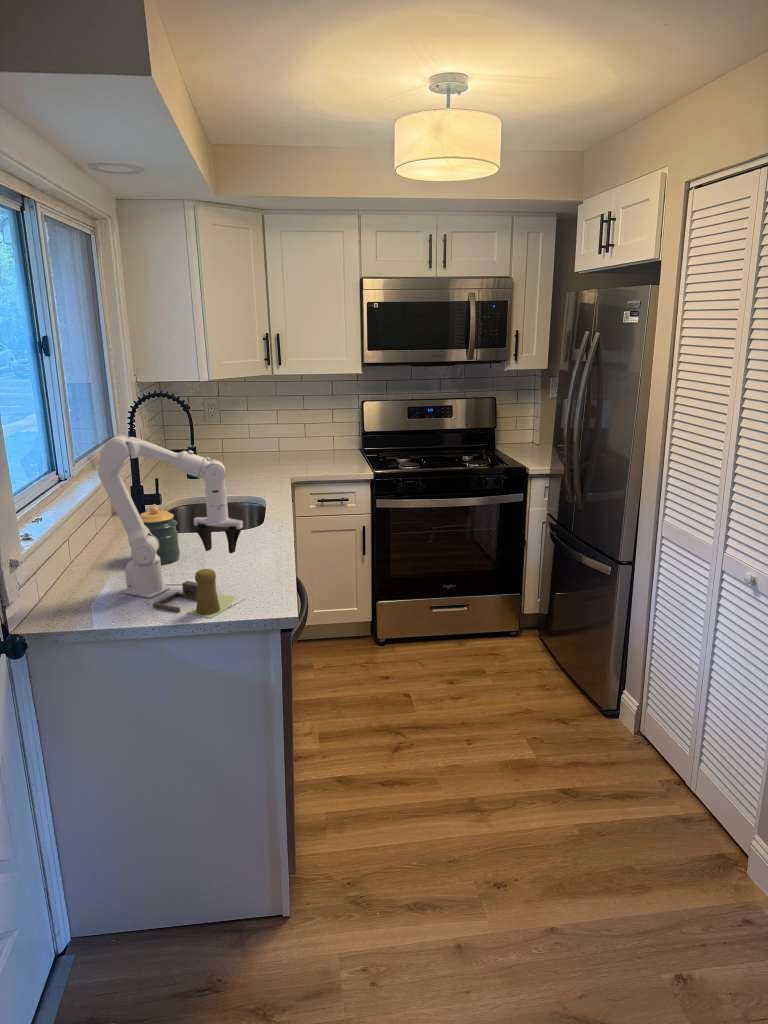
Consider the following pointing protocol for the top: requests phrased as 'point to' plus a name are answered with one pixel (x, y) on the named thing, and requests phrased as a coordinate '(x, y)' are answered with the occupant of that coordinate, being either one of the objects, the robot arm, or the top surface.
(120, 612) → the top surface
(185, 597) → the socket
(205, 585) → the brown pepper mill
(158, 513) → the canister
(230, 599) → the mat
